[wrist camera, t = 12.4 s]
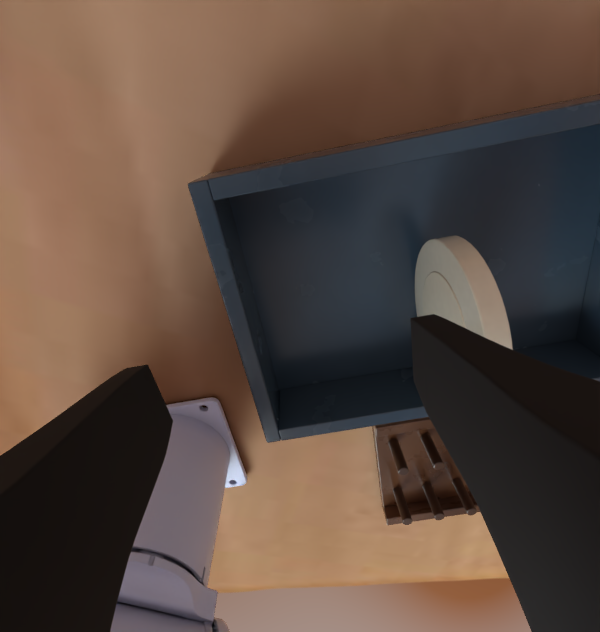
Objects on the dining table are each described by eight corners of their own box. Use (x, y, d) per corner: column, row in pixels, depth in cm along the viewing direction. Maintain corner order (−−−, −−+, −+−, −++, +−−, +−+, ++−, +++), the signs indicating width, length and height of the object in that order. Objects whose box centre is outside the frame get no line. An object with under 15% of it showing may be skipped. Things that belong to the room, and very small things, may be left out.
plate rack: (382, 506, 28) (392, 545, 26) (370, 410, 24) (381, 446, 21) (496, 489, 28) (519, 527, 25) (506, 388, 24) (535, 422, 21)
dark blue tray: (270, 395, 23) (266, 443, 19) (208, 173, 17) (186, 183, 13) (579, 342, 22) (637, 383, 18) (630, 87, 16) (731, 73, 12)
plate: (410, 327, 22) (466, 454, 16) (417, 206, 16) (506, 330, 10) (427, 324, 22) (489, 450, 16) (439, 201, 16) (542, 324, 10)
